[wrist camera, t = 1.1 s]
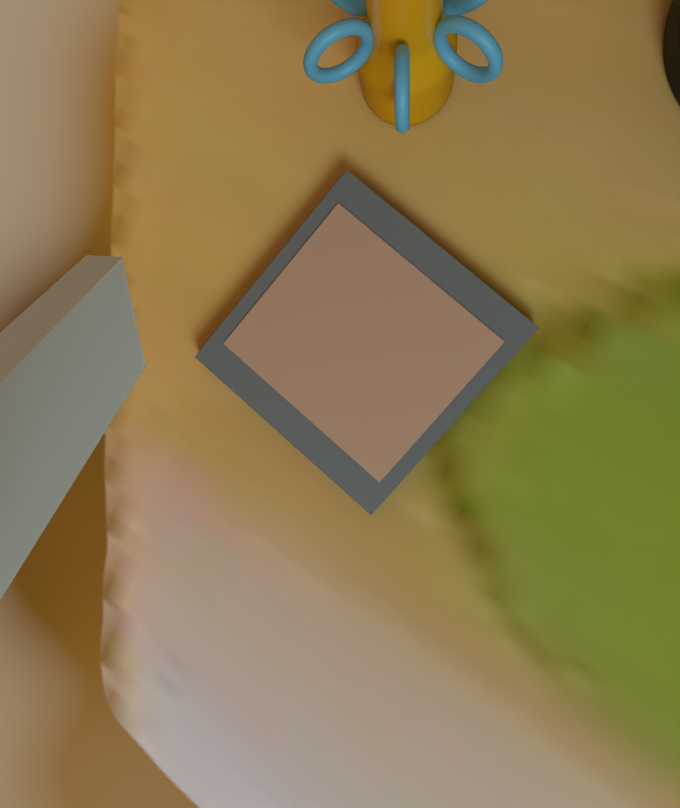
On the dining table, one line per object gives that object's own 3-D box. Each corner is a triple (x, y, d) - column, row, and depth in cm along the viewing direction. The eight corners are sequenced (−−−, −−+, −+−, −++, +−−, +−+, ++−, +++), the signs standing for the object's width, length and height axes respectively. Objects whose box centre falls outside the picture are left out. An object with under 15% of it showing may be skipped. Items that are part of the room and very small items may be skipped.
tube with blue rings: (289, 108, 38) (205, -78, 23) (372, -31, 37) (341, -319, 22) (441, 198, 36) (457, 64, 22) (531, 57, 35) (613, -186, 21)
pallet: (349, 176, 37) (346, 169, 36) (534, 329, 36) (539, 327, 34) (201, 357, 39) (194, 356, 38) (372, 511, 37) (371, 515, 36)
